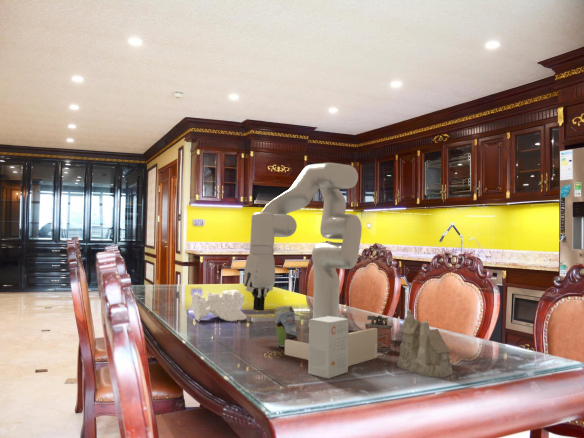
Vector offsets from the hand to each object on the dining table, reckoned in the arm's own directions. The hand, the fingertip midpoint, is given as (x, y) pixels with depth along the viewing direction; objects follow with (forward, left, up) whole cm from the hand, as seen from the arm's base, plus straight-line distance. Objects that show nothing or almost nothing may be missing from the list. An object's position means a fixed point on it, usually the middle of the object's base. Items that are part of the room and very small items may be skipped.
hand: (258, 309), depth 154 cm
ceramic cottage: (-10, +53, -10) cm, 54 cm away
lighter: (-19, +32, -10) cm, 38 cm away
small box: (+14, +38, -10) cm, 42 cm away
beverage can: (-1, +11, -10) cm, 15 cm away
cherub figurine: (-18, -40, -10) cm, 45 cm away
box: (-1, +28, -10) cm, 29 cm away
